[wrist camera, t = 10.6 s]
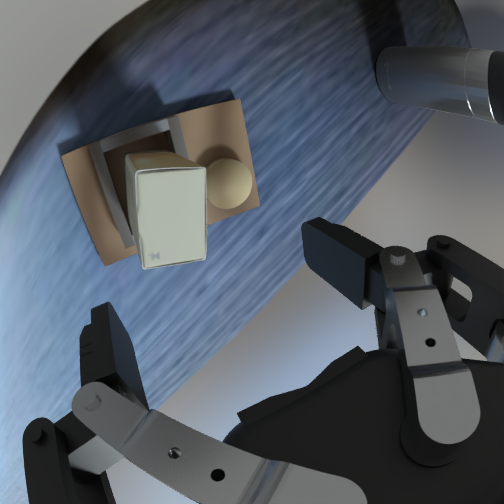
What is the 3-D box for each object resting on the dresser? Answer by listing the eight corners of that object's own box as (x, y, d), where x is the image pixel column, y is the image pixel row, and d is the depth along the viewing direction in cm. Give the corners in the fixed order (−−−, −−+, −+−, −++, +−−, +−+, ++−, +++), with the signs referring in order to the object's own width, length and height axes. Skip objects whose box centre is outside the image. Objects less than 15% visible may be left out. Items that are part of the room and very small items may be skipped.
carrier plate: (235, 99, 29) (251, 98, 26) (255, 202, 35) (271, 212, 32) (62, 154, 24) (57, 159, 21) (104, 261, 30) (105, 278, 27)
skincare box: (169, 210, 30) (208, 265, 20) (126, 215, 28) (142, 275, 18) (168, 145, 27) (209, 165, 17) (123, 149, 25) (134, 171, 15)
